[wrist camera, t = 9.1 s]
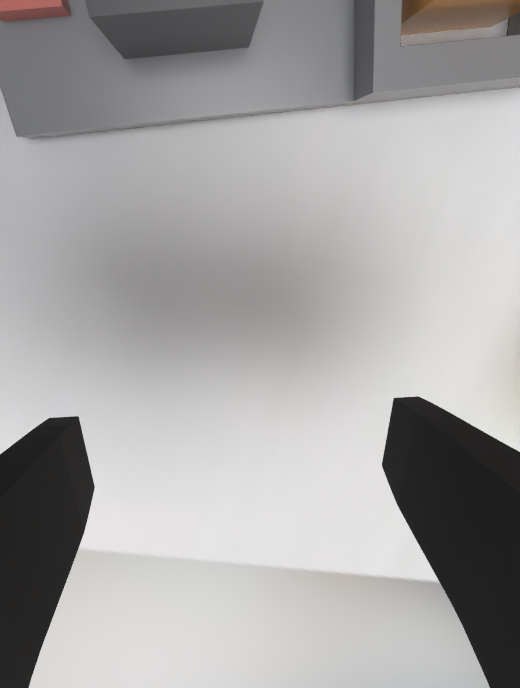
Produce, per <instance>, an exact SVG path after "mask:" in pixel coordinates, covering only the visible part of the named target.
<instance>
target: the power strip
mask: <svg viewBox="0 0 520 688" xmlns="http://www.w3.org/2000/svg"><path fill="white" fill-rule="evenodd" d="M401 15H402V0H0V87H1V90H2V93H3V96H4V99H5V102H6V105H7V108H8V111H9V114H10V117H11V121H12V124H13V127H14V130H15V133H16V136H17V137H24V138H41V137H51V136H60V135H70V134H79V133H88V132H98V131H107V130H117V129H126V128H136V127H145V126H155V125H164V124H174V123H183V122H192V121H202V120H211V119H221V118H230V117H240V116H249V115H259V114H268V113H278V112H287V111H297V110H306V109H315V108H325V107H334V106H344V105H353V104H363V103H372V102H382V101H391V100H401V99H410V98H419V97H429V96H438V95H448V94H457V93H467V92H476V91H486V90H495V89H505V88H514V87H520V13H518V14H516V15H514V16H512V17H510V20H509V27H508V34H507V36H503V37H492V38H482V39H472V40H462V41H451V42H441V43H431V44H421V45H410V46H400V38H401Z"/></svg>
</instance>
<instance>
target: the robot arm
mask: <svg viewBox="0 0 520 688" xmlns="http://www.w3.org/2000/svg"><path fill="white" fill-rule="evenodd" d="M382 467H383V469H384V472H385V475H386V477H387V480H388V483H389V485H390V488H391V490H392V493H393V495H394V498H395V500H396V502H397V505H398V507H399V509H400V510H401V512H402V514H403V516H404V518H405V520H406V522H407V523H408V525H409V527H410V529H411V531H412V533H413V534H414V536H415V538H416V540H417V542H418V544H419V545H420V547H421V549H422V551H423V553H424V554H425V556H426V558H427V560H428V562H429V563H430V565H431V567H432V569H433V571H434V572H435V574H436V576H437V578H438V580H439V581H440V583H441V585H442V587H443V589H444V590H445V592H446V594H447V596H448V598H449V599H450V601H451V603H452V605H453V607H454V609H455V611H456V613H457V615H458V617H459V619H460V621H461V623H462V625H463V627H464V630H465V632H466V634H467V636H468V638H469V641H470V643H471V645H472V647H473V650H474V652H475V654H476V656H477V659H478V661H479V663H480V665H481V667H482V670H483V672H484V674H485V676H486V679H487V681H488V684H489V686H490V688H520V452H519V451H517V450H515V449H513V448H511V447H509V446H508V445H506V444H504V443H502V442H500V441H499V440H497V439H495V438H493V437H491V436H490V435H488V434H486V433H484V432H483V431H481V430H479V429H477V428H476V427H474V426H472V425H470V424H469V423H467V422H465V421H463V420H461V419H460V418H458V417H456V416H454V415H453V414H451V413H449V412H447V411H446V410H444V409H442V408H440V407H438V406H436V405H434V404H433V403H431V402H429V401H427V400H425V399H422V398H420V397H404V398H394V400H393V406H392V412H391V417H390V423H389V428H388V434H387V440H386V445H385V451H384V457H383V462H382ZM94 488H95V487H94V483H93V478H92V474H91V469H90V465H89V461H88V456H87V452H86V447H85V443H84V439H83V434H82V430H81V426H80V421H79V417H78V416H77V417H60V418H49V419H47V420H46V421H44V422H43V423H41V424H40V425H39V426H37V427H36V428H34V429H33V430H32V431H30V432H29V433H28V434H26V435H25V436H24V437H22V438H21V439H20V440H19V441H17V442H16V443H15V444H13V445H12V446H11V447H9V448H8V449H7V450H6V451H4V452H3V453H2V454H0V688H28V687H29V684H30V680H31V677H32V674H33V671H34V668H35V665H36V662H37V659H38V656H39V653H40V650H41V647H42V644H43V641H44V639H45V636H46V634H47V631H48V628H49V626H50V623H51V620H52V617H53V615H54V612H55V610H56V607H57V604H58V602H59V599H60V596H61V594H62V591H63V588H64V586H65V583H66V580H67V578H68V575H69V572H70V570H71V567H72V564H73V561H74V559H75V556H76V553H77V550H78V548H79V545H80V542H81V539H82V537H83V534H84V530H85V526H86V522H87V518H88V514H89V510H90V506H91V501H92V497H93V492H94Z"/></svg>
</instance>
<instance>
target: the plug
mask: <svg viewBox="0 0 520 688" xmlns="http://www.w3.org/2000/svg"><path fill="white" fill-rule="evenodd" d="M518 13H520V0H402V15H401V35H406V34H417V33H428V32H439V31H450V30H461V29H472V28H482V27H491V26H493V25H495V24H497V23H499V22H501V21H503V20H506V19H508V18H510V17H512V16H514V15H516V14H518Z"/></svg>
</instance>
